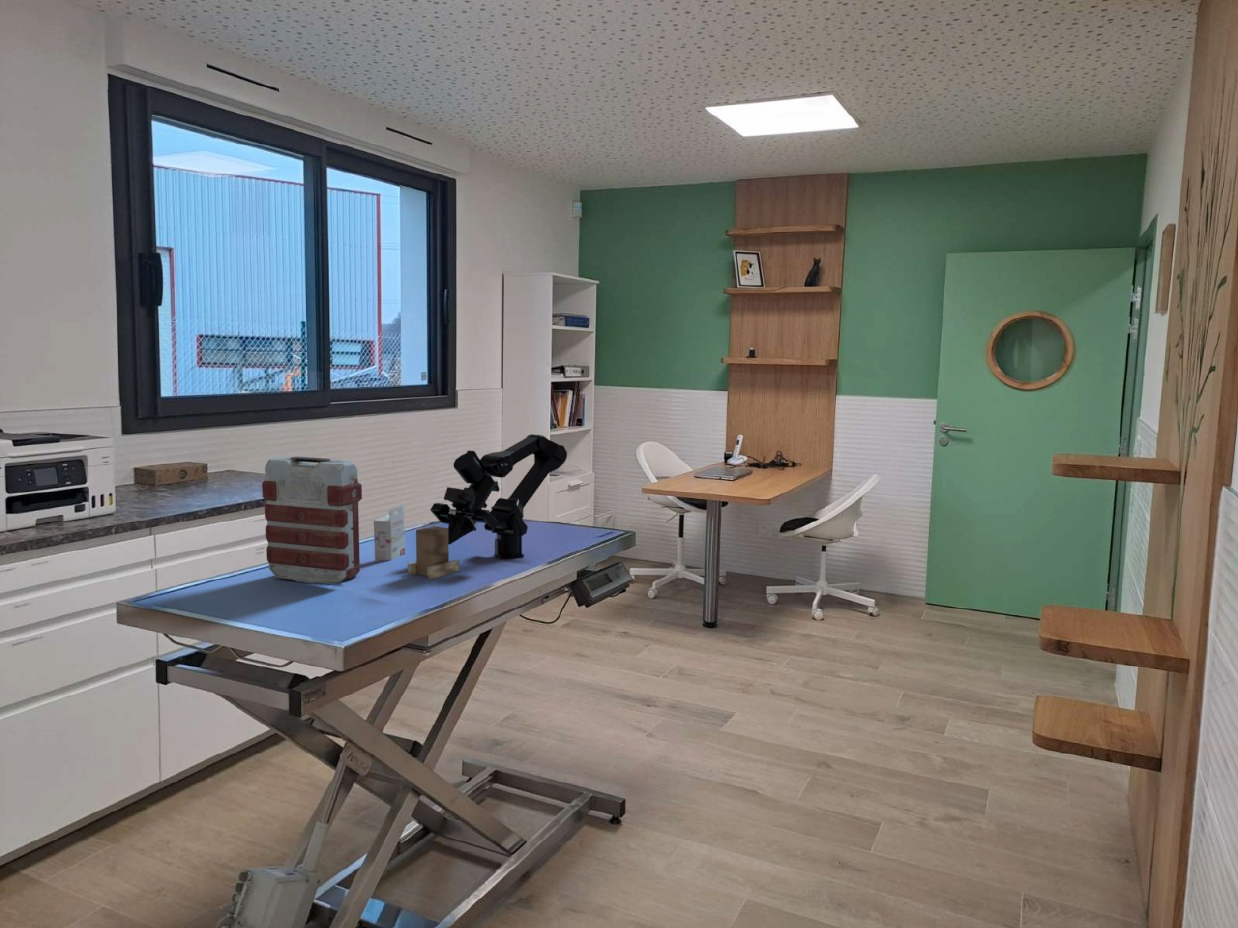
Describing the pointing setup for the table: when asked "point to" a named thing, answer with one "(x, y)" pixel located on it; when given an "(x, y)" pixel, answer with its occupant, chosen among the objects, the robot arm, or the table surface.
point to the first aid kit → (312, 519)
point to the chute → (436, 569)
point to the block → (431, 548)
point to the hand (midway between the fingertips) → (447, 543)
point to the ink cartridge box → (389, 535)
